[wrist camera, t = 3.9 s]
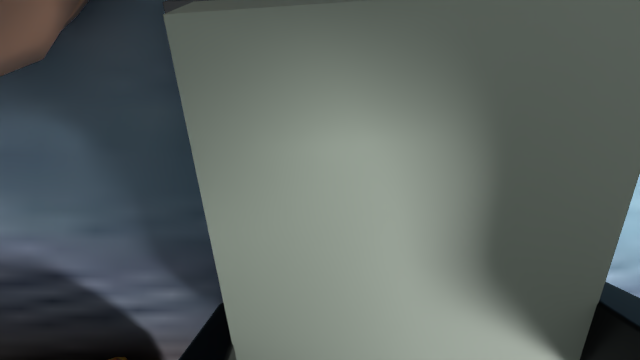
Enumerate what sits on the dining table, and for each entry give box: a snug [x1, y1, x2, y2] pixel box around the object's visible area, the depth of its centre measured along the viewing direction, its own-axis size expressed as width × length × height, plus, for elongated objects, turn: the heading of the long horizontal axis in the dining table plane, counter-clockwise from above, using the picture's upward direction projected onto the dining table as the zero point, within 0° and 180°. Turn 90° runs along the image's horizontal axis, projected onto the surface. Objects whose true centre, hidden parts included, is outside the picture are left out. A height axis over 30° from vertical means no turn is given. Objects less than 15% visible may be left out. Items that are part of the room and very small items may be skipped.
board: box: [163, 0, 640, 360], centre depth 9 cm, size 12×6×2 cm, turn 3°
